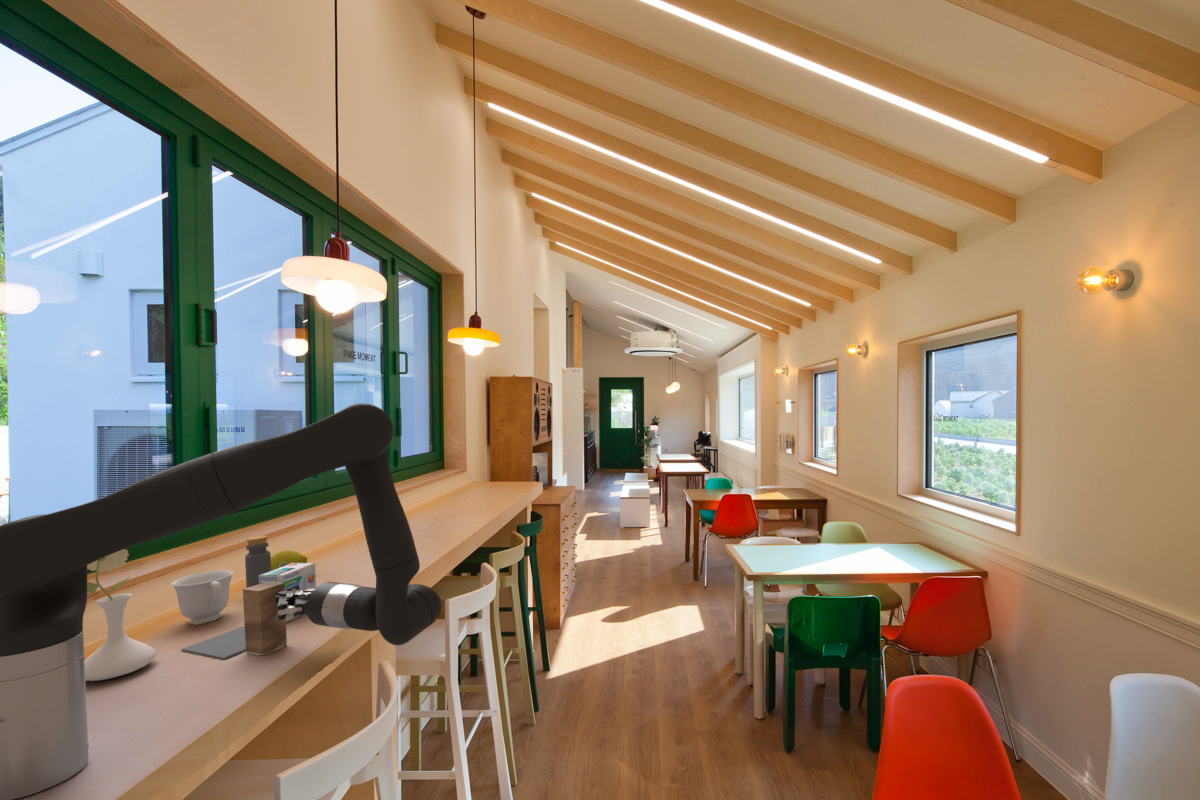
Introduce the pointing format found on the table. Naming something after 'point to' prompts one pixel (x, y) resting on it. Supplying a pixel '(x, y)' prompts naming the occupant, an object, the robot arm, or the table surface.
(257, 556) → the bottle
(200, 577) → the teacup
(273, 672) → the table surface
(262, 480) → the robot arm
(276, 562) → the lemon
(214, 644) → the slate mat
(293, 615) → the light bulb box
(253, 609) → the walnut block
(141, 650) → the flower in vase
